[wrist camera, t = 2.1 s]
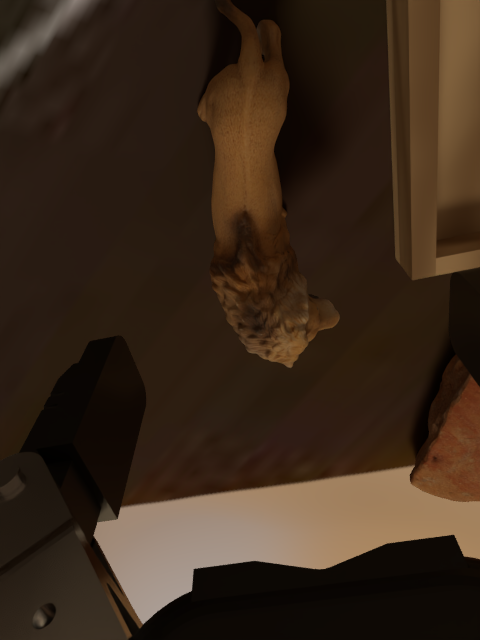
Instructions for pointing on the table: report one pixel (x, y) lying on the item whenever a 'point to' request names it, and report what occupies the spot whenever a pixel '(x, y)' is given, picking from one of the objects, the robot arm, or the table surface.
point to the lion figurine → (256, 201)
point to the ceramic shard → (452, 439)
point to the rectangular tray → (435, 133)
